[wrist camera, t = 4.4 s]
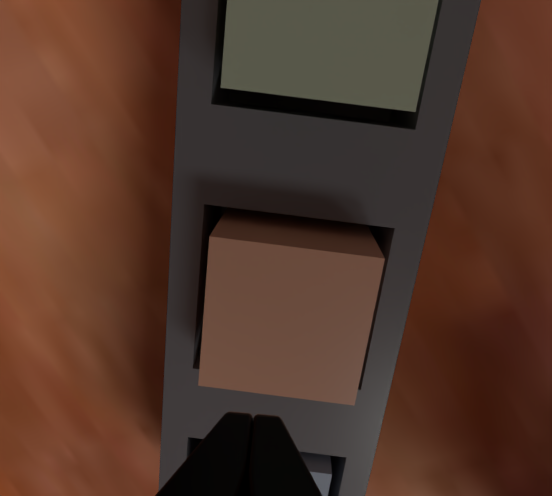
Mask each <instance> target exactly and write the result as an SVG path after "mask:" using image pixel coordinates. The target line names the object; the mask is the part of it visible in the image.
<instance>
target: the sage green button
mask: <svg viewBox="0 0 552 496" xmlns="http://www.w3.org/2000/svg"><path fill="white" fill-rule="evenodd" d="M438 1H439V0H227V9H226V22H225V36H224V49H223V62H222V75H221V88H227V89H235V90H243V91H251V92H259V93H267V94H275V95H283V96H291V97H299V98H307V99H315V100H323V101H331V102H339V103H347V104H355V105H363V106H371V107H379V108H387V109H395V110H403V111H411V112H416V107H417V102H418V97H419V92H420V88H421V83H422V78H423V73H424V68H425V63H426V59H427V54H428V49H429V44H430V39H431V35H432V30H433V25H434V20H435V15H436V10H437V6H438Z"/></svg>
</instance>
